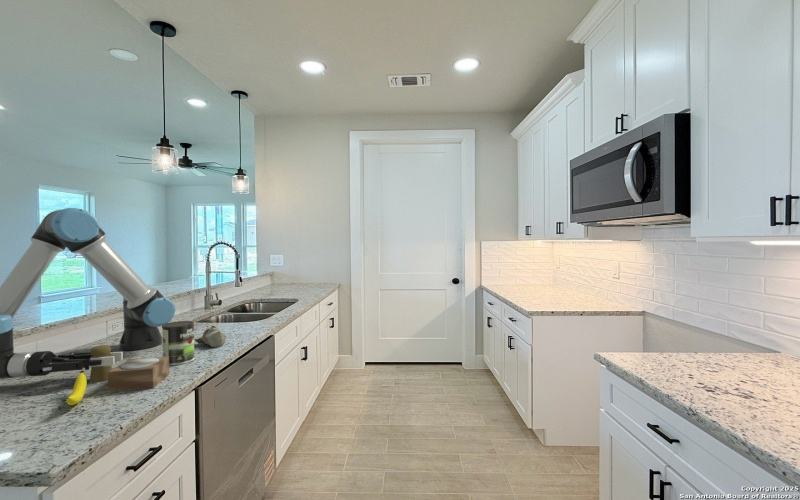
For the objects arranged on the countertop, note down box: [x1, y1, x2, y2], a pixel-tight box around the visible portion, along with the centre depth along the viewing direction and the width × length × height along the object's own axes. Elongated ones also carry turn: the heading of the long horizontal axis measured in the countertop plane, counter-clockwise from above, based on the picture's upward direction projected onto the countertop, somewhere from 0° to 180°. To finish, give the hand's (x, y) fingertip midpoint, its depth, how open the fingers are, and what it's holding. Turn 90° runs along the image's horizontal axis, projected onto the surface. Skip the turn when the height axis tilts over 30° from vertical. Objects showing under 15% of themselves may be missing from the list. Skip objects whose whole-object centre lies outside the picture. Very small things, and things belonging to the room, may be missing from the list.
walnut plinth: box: [107, 356, 171, 393], centre depth 115 cm, size 12×12×6 cm
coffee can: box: [161, 320, 196, 366], centre depth 135 cm, size 10×10×14 cm
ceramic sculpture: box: [194, 325, 227, 348], centre depth 156 cm, size 11×9×15 cm
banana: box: [65, 370, 88, 406], centre depth 100 cm, size 3×19×6 cm, turn 33°
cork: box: [89, 344, 113, 384], centre depth 117 cm, size 6×6×11 cm
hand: (118, 358), depth 118 cm, fingers closed on cork, 4 cm apart
